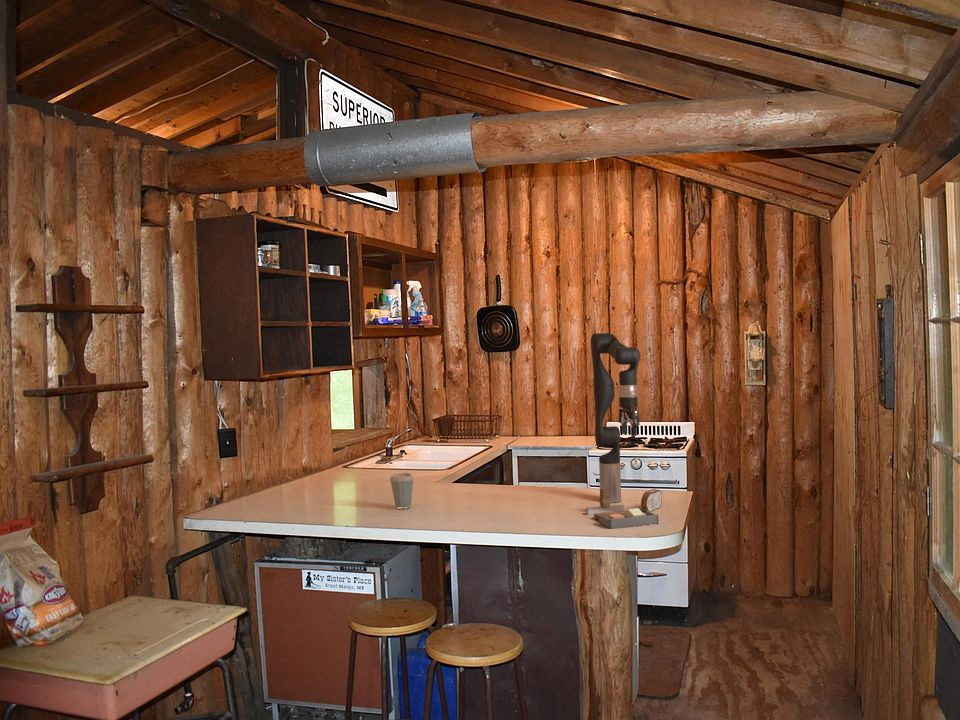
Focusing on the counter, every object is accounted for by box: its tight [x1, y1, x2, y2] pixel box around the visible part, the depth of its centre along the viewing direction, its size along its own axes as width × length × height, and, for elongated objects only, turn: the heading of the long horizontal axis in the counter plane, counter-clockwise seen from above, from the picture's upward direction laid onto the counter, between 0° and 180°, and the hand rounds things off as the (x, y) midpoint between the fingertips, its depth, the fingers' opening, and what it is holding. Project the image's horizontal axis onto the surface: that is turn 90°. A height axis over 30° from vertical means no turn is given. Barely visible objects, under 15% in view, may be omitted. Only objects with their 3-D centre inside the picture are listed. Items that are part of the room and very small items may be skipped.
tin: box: [640, 488, 663, 512], centre depth 320 cm, size 15×3×8 cm, turn 141°
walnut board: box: [593, 509, 628, 522], centre depth 306 cm, size 10×17×2 cm, turn 105°
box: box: [599, 511, 659, 530], centre depth 297 cm, size 9×20×4 cm, turn 105°
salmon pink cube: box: [608, 514, 624, 519], centre depth 297 cm, size 4×4×3 cm
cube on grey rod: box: [585, 488, 625, 516], centre depth 317 cm, size 3×16×10 cm, turn 105°
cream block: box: [627, 507, 645, 517], centre depth 300 cm, size 4×4×3 cm
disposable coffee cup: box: [389, 472, 414, 508], centre depth 340 cm, size 11×11×15 cm
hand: (629, 435), depth 317 cm, fingers open, 8 cm apart
